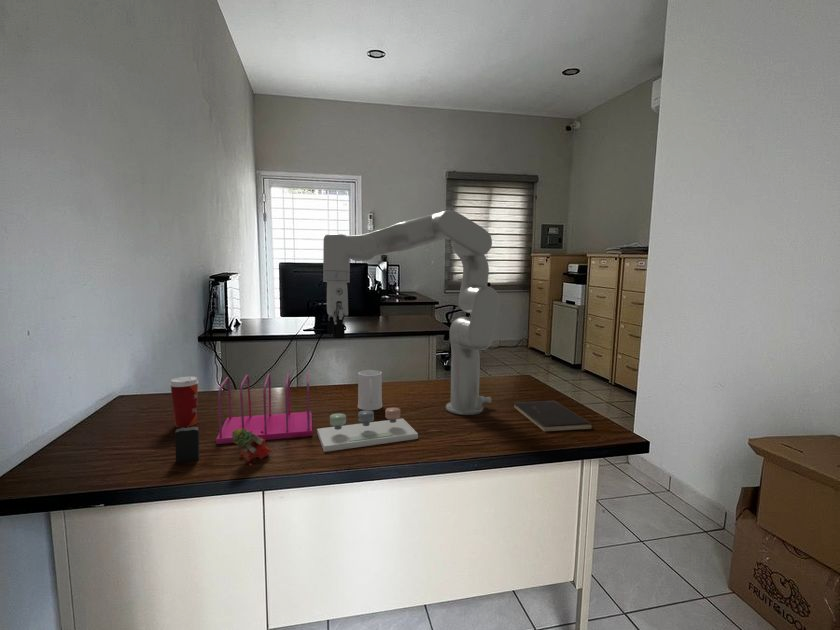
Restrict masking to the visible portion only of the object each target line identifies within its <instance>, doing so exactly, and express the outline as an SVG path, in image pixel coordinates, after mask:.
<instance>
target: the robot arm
mask: <svg viewBox="0 0 840 630" xmlns="http://www.w3.org/2000/svg"><path fill="white" fill-rule="evenodd" d="M447 239H450V240H451V248H452V250H453V252H454V253H455V254H456V256H457V257H458V258H459V259H460V262H461V264H462V277H461V283H460V289H459V290H460V291H459V296H458V306H459V308H460V310H462V311H463V312H465V313H467V314H471V315H470V317H469V316H461V317H458V318H455V320H453V321H452V323H451V324H450V328H449V342H450V348H451V350H450V352H451V353H450V354H451V363H450V364H451V365H450V402H448V403H446V404H445V410H446V411H448V412H449V413H452V414H455V415H460V416H474V415H478V414H480V413H482V412H483V411H484V406H483V405H484V404H485V403H486V404H487V403H489V404H490V403H492V397H491V396H484V395H480V367H481V366H480V365H481V362H480V361H481V357H480V356H481V355H480V351H484V350H486V349H488V348H489V347H490V346H491V345H492V344H493V342H494V340H495V335H496V330H497V327H498V320H499V315H500V307H501V301H500V300H501V299H500V296H499V294H498V293H499V292H497V291H496V290H495V288H493V287H491V286H488V282H489V272H490V268H489V261H488V260H487V258H486V256H485V255H486V254H488V253H489V252H490V250H491V249H492V246H493V239H492V236H491V234H490V233H489V232H488V231H487V229H486V228H484V227H482V226H481V225H479V224H477V223H475V222H474V221H472V220H471V219H469V218H468V217H466V216H464V215H463V214H461V213H459V212H458V211H454V210H452V209H446V210H443V211H439V212H436V213H434V212H433V213H432V214H428V215H423V216H420V217H417V218H413V219H409V220H404V221H402V222H398V223H395V224H393V225H391V226H388V227H385V228H381V229H378V230H375V231H372V232H367V233H363V234H355V235H353V234H351V235H349V234H348V235H346V234H341V233H327V234H325V235H324V237H323V252H322V253H323V255H322V256H323V257H322V258H323V261H322V263H323V265H322V266H323V268H322V269H323V270H322V271H323V275H322V276H323V277H322V280H323V281H322V282H324V283H326V313H327V315H328V317H327V319H328V320H327V333H328V334H330V335H331V334H332V338H333V339H344V338H345V332H346V331H345V329H346V328H345V325H346V324H345V317H348V316H349V298H348V297H349V295H348V294H349V293H348V283H351V282H350V280H351V279H350V273H351V271H350V270H351V269H350V268H351V266H350V265H351V260H352V261H355V262H365V261H366V262H367V261H369V260H372V259H374V258H375V257H377V256H379V255H385V254H389V253H394V252H403V251H407V250H411V249H415V248H418V247H422V246H426V245H428V244H432V243H434V242H435V243H436V242H439V241H442V240H447Z"/></svg>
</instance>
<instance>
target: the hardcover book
mask: <svg viewBox="0 0 840 630" xmlns="http://www.w3.org/2000/svg"><path fill="white" fill-rule="evenodd" d="M512 403H513V404H514V406H513V407H514V408H515V409H516V410H517V411H518V412H519V413H521V415H523V416H524V417H525V418H527V420H528V419H529V421H530V422H531V423H533V424H534V425H535V426H537V427H539V428H540V430H542V431H543V432H557V431H572V430H586V429H587V430H593V424H592V423H591V422H590V421H588V420H587V419H585V418H583V417H582V416H580V415H579V414H576V413H575V412H573V411H572V410H570V409H569V408H567V407H566V406H564V405H562V404H561V403H559V402H558V401H556V400H535V401H534V400H533V401H516V402H515V401H513V402H512Z"/></svg>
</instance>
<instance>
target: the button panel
mask: <svg viewBox="0 0 840 630" xmlns="http://www.w3.org/2000/svg"><path fill="white" fill-rule="evenodd" d="M316 434H317V436H318V440H319V442H320V445H321V448H322V450H323V452H324V453H325V452H326V453H327V452H332V451H333V452H334V451H339V450H347V449H353V448H354V449H355V448H361V447H368V446H376V445H382V444H390V443H397V442H403V441H411V440H412V441H413V440H417V439H419V433H418V432H417V431H416V430H415V429H414V428H413V427H412V426H411V425H410V424H409V423H408V422H407V421H406V420H405V419H404V418H398V419H396V422H395V423H391V422H389V419H387V420H379V421H372V422H370V425H369V426H363V422H360V423H354V424H344V425H342V429H339V430H336V429H334V426H329V427H321V428H317V429H316Z"/></svg>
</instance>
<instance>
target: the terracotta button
mask: <svg viewBox="0 0 840 630" xmlns="http://www.w3.org/2000/svg"><path fill="white" fill-rule="evenodd" d="M384 410H385V416H384V417H385V418H386V419H387V420H389V422H391V423H395V422H396V419H401V411H402V410H401V409H400V408H398V407H387V408H386V409H384Z"/></svg>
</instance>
